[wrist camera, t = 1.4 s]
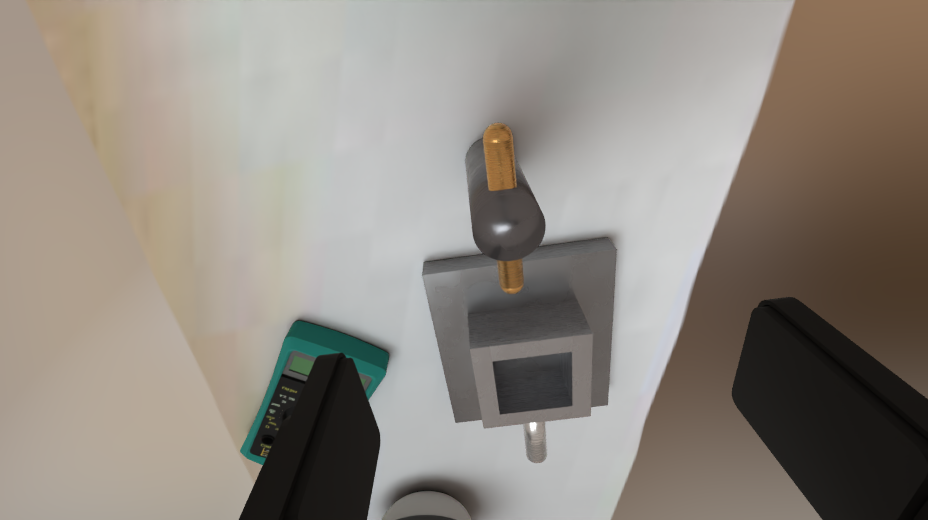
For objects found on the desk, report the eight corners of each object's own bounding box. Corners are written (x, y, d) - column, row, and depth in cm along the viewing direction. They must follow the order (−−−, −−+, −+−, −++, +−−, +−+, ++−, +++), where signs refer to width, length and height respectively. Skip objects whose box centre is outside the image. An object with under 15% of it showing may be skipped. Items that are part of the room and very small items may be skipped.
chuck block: (423, 262, 27) (418, 308, 22) (607, 237, 26) (639, 279, 22) (459, 426, 35) (461, 483, 30) (600, 409, 34) (621, 465, 30)
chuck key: (455, 96, 22) (458, 136, 14) (508, 88, 21) (541, 124, 14) (473, 223, 25) (483, 311, 17) (518, 217, 25) (548, 303, 17)
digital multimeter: (248, 433, 35) (233, 465, 33) (298, 311, 29) (283, 339, 26) (330, 456, 37) (321, 487, 35) (393, 346, 31) (388, 375, 28)
